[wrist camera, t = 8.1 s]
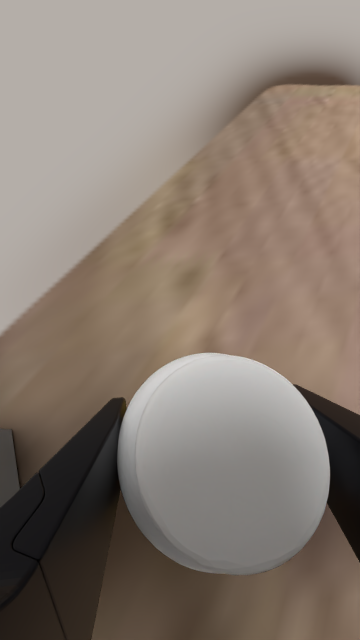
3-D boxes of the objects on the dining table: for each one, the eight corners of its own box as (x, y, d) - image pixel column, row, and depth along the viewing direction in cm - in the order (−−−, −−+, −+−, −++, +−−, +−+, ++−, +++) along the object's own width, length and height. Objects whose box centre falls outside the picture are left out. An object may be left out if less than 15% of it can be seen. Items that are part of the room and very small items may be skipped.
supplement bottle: (124, 474, 14) (26, 538, 4) (168, 378, 16) (164, 288, 7) (223, 526, 13) (355, 736, 4) (256, 417, 15) (388, 377, 6)
